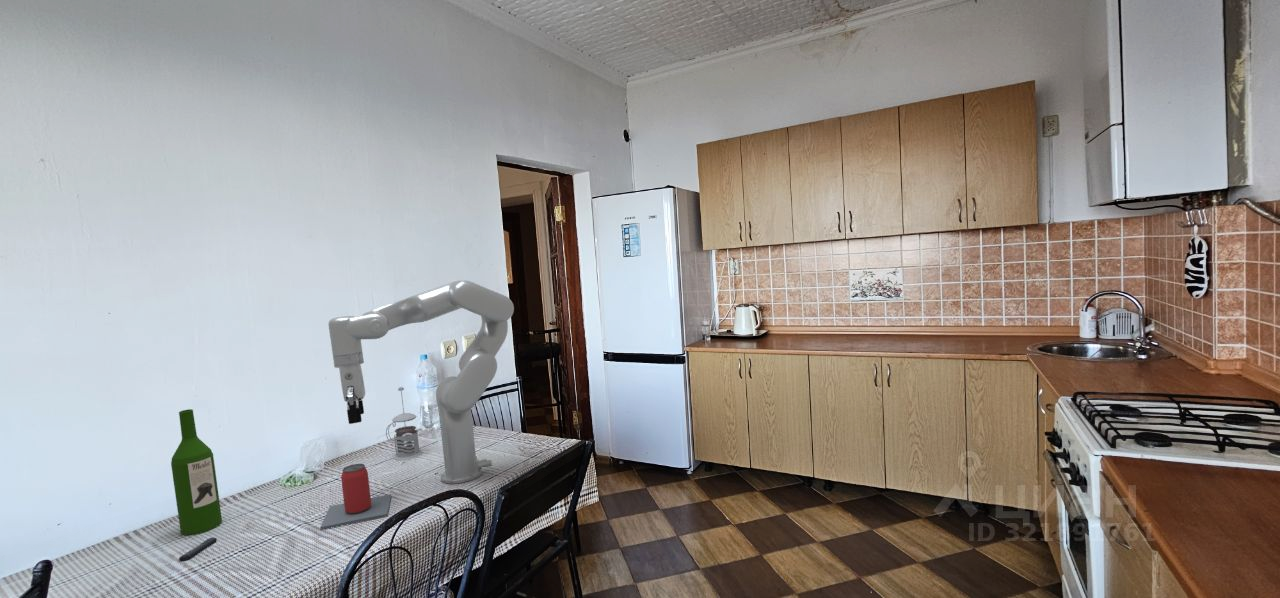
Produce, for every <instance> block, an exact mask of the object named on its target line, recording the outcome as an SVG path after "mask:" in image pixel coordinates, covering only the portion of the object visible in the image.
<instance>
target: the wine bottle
mask: <svg viewBox="0 0 1280 598" xmlns="http://www.w3.org/2000/svg"><path fill="white" fill-rule="evenodd" d="M178 416H179V422H180V423H179V425H180V434H181V441H180V443H179V444H178V446H177V448H176V450H175V452H174V454H173V455H172V457H171V461H170V462H171V463H170V465H171V472H172V473H171V474H172V479H173V487H174V495H175V499H176V500H175V501H176V508H177V516H178V523H179V531H180V533H181V534H182V535H184V536H193V535H199V534H203V533H205V532H209V531H211V530H213V529H216V528H217V527H219V526H220V525H221V524H222V522H223V519H222V512H221V511H222V510H221V503H220V495H219V489H218V482H217V481H218V480H217V474H216V466H215V458H214V453H213V451H212V449H211V448H210V446H208V445H207V444H205V443H204V442H203V441H202V440H201V439H200V438H199V437H198V435H197V428H196V422H195V416H194V409H190V408H188V409H183V410H180V411H179V412H178Z"/></svg>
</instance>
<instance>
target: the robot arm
mask: <svg viewBox="0 0 1280 598" xmlns="http://www.w3.org/2000/svg"><path fill="white" fill-rule="evenodd" d="M460 309H464V310H466V311H468V312H471V313H473V314H476V315H478V316H480V317H481V327H480V329H479V331H478V332H477V334H476V336H475V337H474V339H473V340H472V341H471V343H470V344H469V346H468V347H467V348H466V350H465V351H464V353H463V354H462V355H461V356H460V358H459V361H458V368H459V370H460V371H459V373H458V375H457V376H447V377H445V378H443V379H442V380H441V381H440V382H439V383H438V385H437V387H436V390H435V391H436V392H435V398H436V404H437V409H438V414H439V423H440V435H441V445H442V456H443V462H444V464H443V465H444V471H443V472H442V473H441V474H440V481H441V482H442V483H445V484H462V483H467V482H469V481H473V480H475V479H477V478H479V477H480V476H481V475H482V474H483V468H485V467H486V468H487V467H492V466H493V465H492V459H489V460H488V459H487V458H484V459H478V457H477V455H476V444H475V435H474V433H475V432H474V425H473V423H474V422H473V416H472V415H473V414H472V408H473V407H475V405H476V404H477V403H478V402H479V400H480V399H481V398H482V395H483V394H484V393H485V392H486V390H487V388H488V387H489V385H490V384H491V382H492V381H493V379H494V378H495V376H496V374H497V370H498V361H497V358H496V356H497V354H498V352H499V351H500V350H501V347H502V346H503V344H504V343H505V341H506V338H507V337H508V331H509V330H508V327H509V326H508V324H509V323H508V321H509V320H510V319H511V317H513V314H514V312H515V311H514V310H515V306H514V303H513V302H512V300H511V299H510V298H509V297H508V296H506V295H504V294H501V293H499V292H497V291H495V290H491V289H489V288H487V287H486V286H483V285H480V284H478V283H475V282H473V281H471V280H456V281H452V282H448V283H447V284H443V285H441V286H438V287H435V288H432V289H429V290H427V291H423V292H419V293H417V294H415V295H412V296H409V297H406V298H404V299H402V300H399V301H398V300H397V301H396V302H393V303H389V304H387V305H383V306H381V307H378V308H375V309H372V310H369V311H367V312H366V311H365V312H364V313H363V314H362V315H360V316H359V315H358V316H355V315H345V316H338V317H333V318H332V319H330V320H329V321H328V330H329V338H330V346H331V353H332V358H333V359H332V360H333V365H334V369H339V376H340V377H339V379H340V383H341V385H340V386H341V389H342V396H343V400H344V402H346V412H347V420H348V424H349V425H353V424H357V423H361V422H362V415H363V414H365V409H364V403H363V399H365V396H366V388H365V383H364V378H363V377H364V376H363V375H364V374H363V371H362V364H364V363H365V361H364V353H363V345H362V340H378V339H381V338H383V337H385V336H386V335H387V334H388V333H389V331H391V330H393V329H396V328H399V327H401V326H406V325H410V324H416V323H418V324H419V323H424V322H428V321H430V320H433V319H435V318H439V317H441V316H443V315H446V314H448V313H452V312H455V311H457V310H460Z"/></svg>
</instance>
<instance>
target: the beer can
mask: <svg viewBox="0 0 1280 598" xmlns="http://www.w3.org/2000/svg"><path fill="white" fill-rule="evenodd" d="M341 470H342V473H341V477H340V478H341V488H342V496H343V503H344V507H345V512H346V513H348V514H356V513H360V512H363V511H365V510H367V509H369V508H370V506H371V498H372V496H371V488H370V480H369V472H368V470H367V468H366V465H365V464H364V463H355V464H349V465H347V466H345V467H344V468H342V469H341Z"/></svg>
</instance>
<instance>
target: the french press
mask: <svg viewBox="0 0 1280 598" xmlns="http://www.w3.org/2000/svg"><path fill="white" fill-rule="evenodd" d="M404 390H405V388H404V386H400V387H398V389H397V391H398V392H399V391H400V394H401V396H403V393H402V392H403V391H404ZM401 403H402V406H404V400H403V398H401ZM402 411H403V412H402V413H399V414H397V415H395V416H394V417H393V418H392V419H391V421H392V422H391V423H389V424H388V425H387V427H386V430H385V436H386V439H387V440H388V441H389V442H390V443H391V444H394V446H395V447H394V449H395V456H393V460H394V461H407V460H412V459H416V458H419V457H420V456H422V455H423V454H424V453H423V451H421V450H420V444H419V435H418V434H419V433H418V430H417V426H416V425H409V426H407V425H404V426H402V427H401V426H400V427H398V428H396V429H395V430H394V433H395V434H394V435H393V436H394V439H393V438H391V435H390V427H391V426H392V427H393V428H394V427H396V423H404V424H406V422H409V421H413V420H415V419H416V418H417V415H416V414H414V413H411V412H410V413H409V412H405V408H404V407H402ZM388 437H389V438H390V439H389V438H388ZM391 440H392V441H391Z"/></svg>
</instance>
